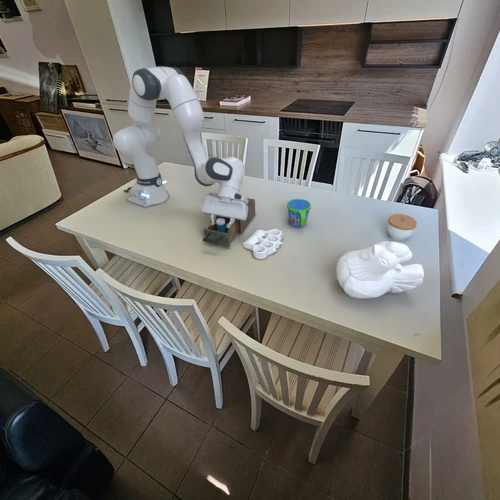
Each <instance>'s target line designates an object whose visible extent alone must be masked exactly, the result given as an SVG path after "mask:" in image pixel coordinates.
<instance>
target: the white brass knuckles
mask: <svg viewBox="0 0 500 500" xmlns="http://www.w3.org/2000/svg"><path fill="white" fill-rule="evenodd" d="M282 240H283V232H282V231H281V230H280V229H277V228H272V229H269V230H265V229H260V228H258V229H256V230H255V231H254V232H253V233H251V235H249V237H248V238H247V239H246V240H245V241H244V242H243V243H242V246H243V247H244V248H245V249H247V250H250V251H252V254H253V257H254V258H255V259H258V260H265V259H266V258H267V256H270V255H273V254H274V253H275V252H276V253H277V249H278V248H280V245H284V242H282Z"/></svg>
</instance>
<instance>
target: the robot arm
mask: <svg viewBox="0 0 500 500" xmlns="http://www.w3.org/2000/svg"><path fill="white" fill-rule="evenodd" d="M131 78H132V80H131V82H130V87H129V92H128V104H127V114H128V116H129V117H130V119H132V121H133V124H131V125H130V126H127V127H124V128H122V129H119V130H118V131H116V133H114V134H113V136H112V143H113V146H114V148H115V149H116V150H117V152H119V153H120V154H122V155H124V156H126V157H127V158H129V160H130V161H131V163H132V165H133V167H134V170H135V172H136V176H134V180H136V183H134V184H133V186H128V187H127V188H126V189H123V192H125V193H128V192H129V191H130V195H129V196H128V197H127V198H128V199H127V200H128V202H130V203H133V204H136V205H138V206H142V207H144V208H147V207H150V206H154V205H159V204H162V203H164V202H166V201H167V200H168V199H169V194H168V193H167V189H166V188H165V185H164V184H166V183H167V180H164V181H163V178H162V174H161V172H160V170H159V168H158V163H157V162H158V161H157V160H156V158H155V157H154V156H153V155H150V154H148V153H147V151H146V148H148V147H150V146H151V145H154V144H155V143H156V142H157V141H159V140H160V138H161V130H160V127H159V126H158V124H157V123H156V122H155V112H156V106H157V101H160V100H162V101H163V100H167V102H168V103H169V106H170V109H171V110H172V113H173V115H174V117H175V120H176V122H177V124H178V126H179V129H180V131H181V134H182V137H183V139H184V142H185V145H186V147H187V150H188V153H189V155H190V158H191V160H192V164H193V168H194V177H195V180H196V182H197V183H198V184H199V185H201V186H202V187H211V186H213V185H215V184H216V183H217V184H219V188H218V191H217V193H212V192H209V193H207V194H206V195H205V197H204V201H203V204H202V207H201V212H202V213H203V214H205V215H210V218H211V223H212V225H213V226H216V222H215V218H216V216H221V217H226V218H230V220H231V221H230V222H229V224H226V228H228V229H229V228H230V227H231V225H232V224H233V223H234V222H235V219H237V220H242V221H245V220H246V219H247V214H248V206H247V205H246V204H248V199H247V198H248V197H246V196H245V195H243V194H241V185H242V183H243V180H244V176H245V175H244V174H245V163H244V162H243V161H242V160H241V159H240V158H238V157H236V156H228V157H223V158H222V157H216V156H214V157H209V158H207V155H206V152H205V149H204V146H203V144H202V139H201V137H202V135H201V134H202V130H203V126H204V123H205V115H204V111H203V107H202V104H201V102H200V100H199V97H198V96H197V93H196V91H195V89H194V87H193V86H192V84H191V83H190V81H189V80H188V78H187V77H186V76H185V74H184V72H183V71H181V69H179V68H178V67H174V66H152V67H148V68H145V67H142V68H139V69H136V70H135V71H134V72H133V74H132V77H131Z"/></svg>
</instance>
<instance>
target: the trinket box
mask: <svg viewBox="0 0 500 500" xmlns="http://www.w3.org/2000/svg"><path fill="white" fill-rule="evenodd" d="M417 225H418V222H417V220H416V219H415V218H414V217H412V216H410V215H407V214H403V213H393V214H391V215H390V216H389V217H388V219H387V224H386V231H387V234H388V235H389V237H390V238H392V239H393V240H397V241H402V240H405V239H407V238H409V237H410V236H411V235H412V234H413V233H414V232H415V229H416V227H417Z"/></svg>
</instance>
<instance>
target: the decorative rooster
mask: <svg viewBox="0 0 500 500" xmlns="http://www.w3.org/2000/svg"><path fill="white" fill-rule="evenodd" d="M412 258H413V252H412V251H411V250H410V248H409V246H408V245H406V244H405V243H402V242H399V241H387V240H383V241H379V242H377V243H373V245H371V246H368V247H366V248H363V249H357V250H352V251H347V252H345V253H344V255H342V256H340V258H338V260H337V264H336V267H335V273H336V278H337V281H338V284H339V286H340V287H341V289H343V292H344V293H345V294H346V295H348V296H349V297H351V298H353V299H361V300H365V299H375V298H379V297H381V296H384V295H385V294H386V293H387V294H388V293H391V294H399V293H404V292H409V291H413V290H415V289H416V287H419V286H420V285H421V284H423V282H424V277H425V270H424V267H423V265H422V264H421V263H412V264H408V265H407V264H406V265H402V264H401V263H405V262H408V261H410V260H411V259H412Z"/></svg>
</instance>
